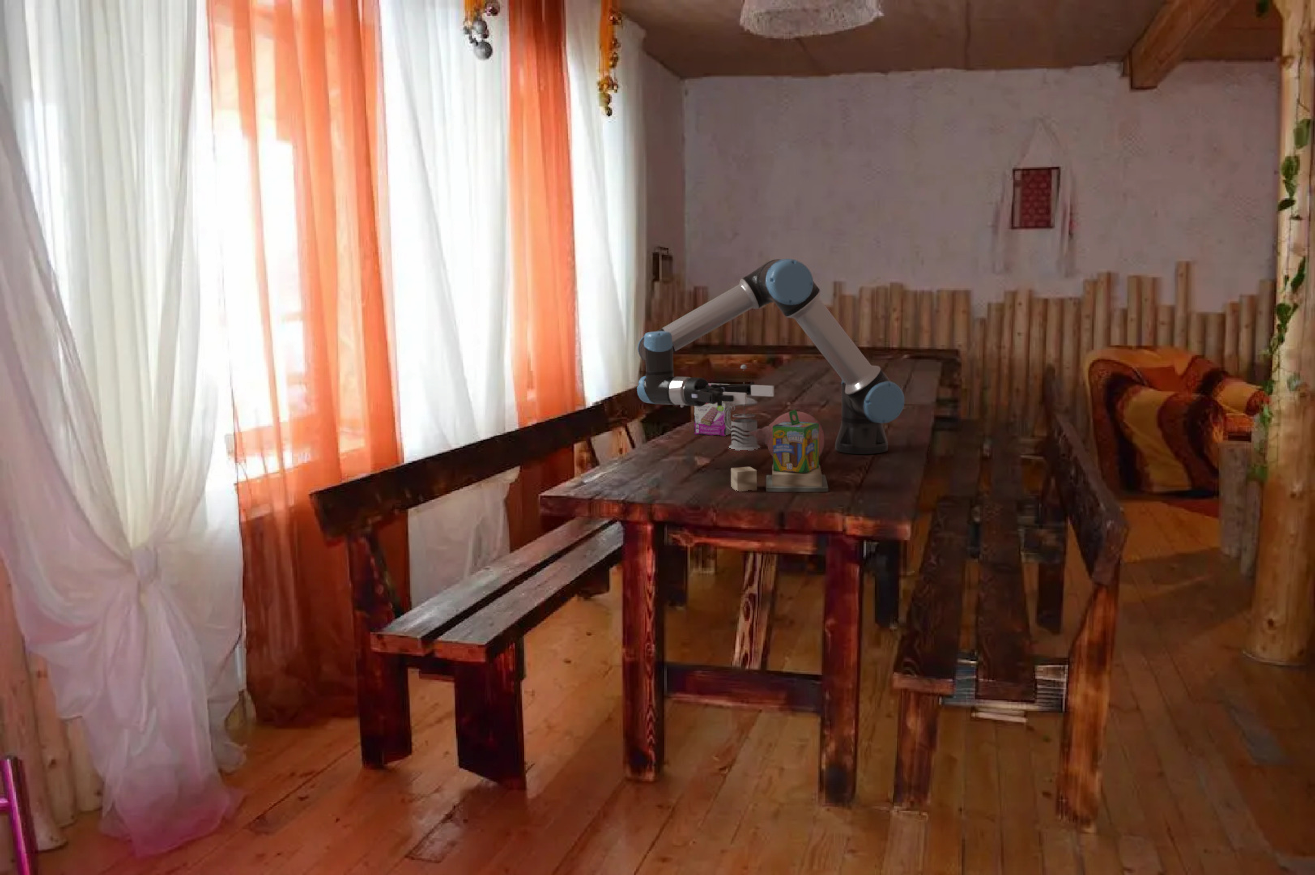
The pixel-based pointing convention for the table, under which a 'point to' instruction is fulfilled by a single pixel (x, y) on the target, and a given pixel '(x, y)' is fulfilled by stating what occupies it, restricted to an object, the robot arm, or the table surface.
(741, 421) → the french press
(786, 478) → the plinth
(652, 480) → the table surface
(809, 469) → the chalk box
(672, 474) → the table surface
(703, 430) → the candy bar box
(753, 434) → the balloon
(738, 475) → the birch block
